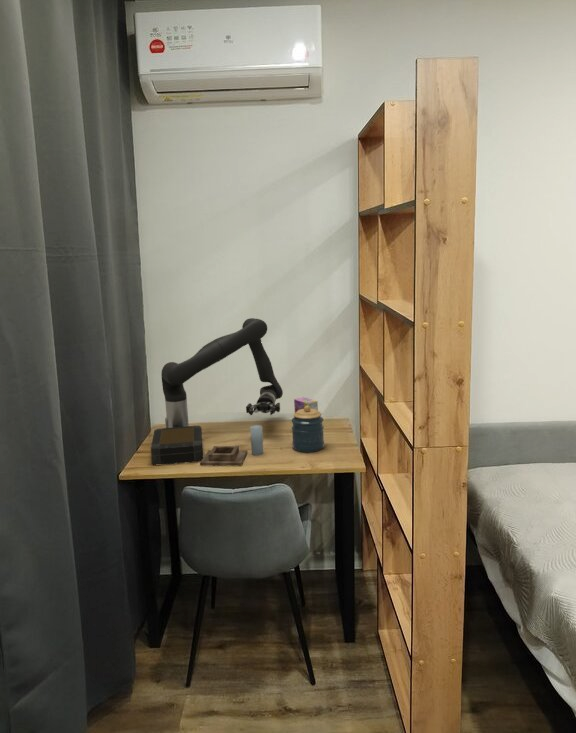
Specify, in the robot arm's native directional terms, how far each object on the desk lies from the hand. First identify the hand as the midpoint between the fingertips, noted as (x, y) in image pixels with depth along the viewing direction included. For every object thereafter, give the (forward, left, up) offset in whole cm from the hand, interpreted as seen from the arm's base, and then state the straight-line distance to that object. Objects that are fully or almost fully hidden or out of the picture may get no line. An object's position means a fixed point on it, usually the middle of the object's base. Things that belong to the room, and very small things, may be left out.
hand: (261, 412), depth 253 cm
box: (+17, +26, -13) cm, 34 cm away
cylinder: (0, -12, -13) cm, 18 cm away
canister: (+20, -5, -13) cm, 24 cm away
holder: (-12, -19, -13) cm, 26 cm away
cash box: (-33, -12, -14) cm, 38 cm away
